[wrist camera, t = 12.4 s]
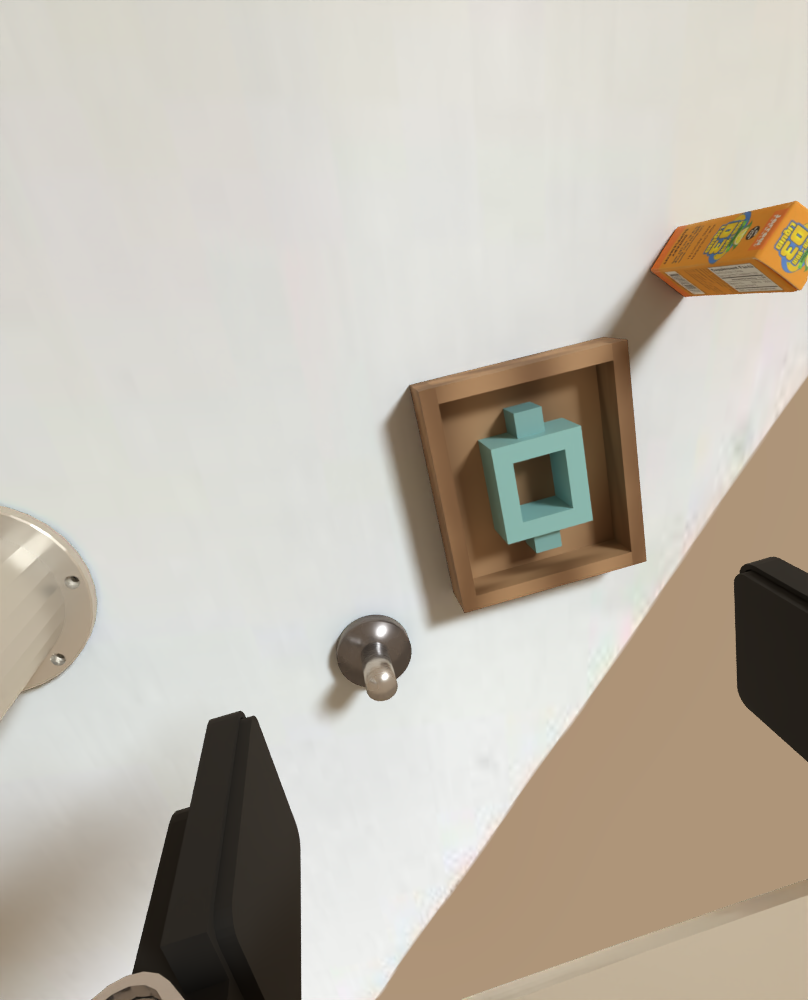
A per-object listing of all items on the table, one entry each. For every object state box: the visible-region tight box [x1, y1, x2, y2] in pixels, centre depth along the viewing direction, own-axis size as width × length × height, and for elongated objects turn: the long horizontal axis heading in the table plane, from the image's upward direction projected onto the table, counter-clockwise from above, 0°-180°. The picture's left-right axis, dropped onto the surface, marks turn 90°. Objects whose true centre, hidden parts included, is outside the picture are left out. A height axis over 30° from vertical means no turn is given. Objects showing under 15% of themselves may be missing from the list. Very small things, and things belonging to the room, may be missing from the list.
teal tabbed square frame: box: [478, 402, 593, 553], centre depth 39 cm, size 10×6×3 cm, turn 13°
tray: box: [410, 337, 646, 613], centre depth 39 cm, size 13×15×3 cm
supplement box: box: [651, 201, 808, 297], centre depth 33 cm, size 3×3×10 cm
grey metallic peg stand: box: [337, 615, 411, 701], centre depth 41 cm, size 5×5×5 cm
